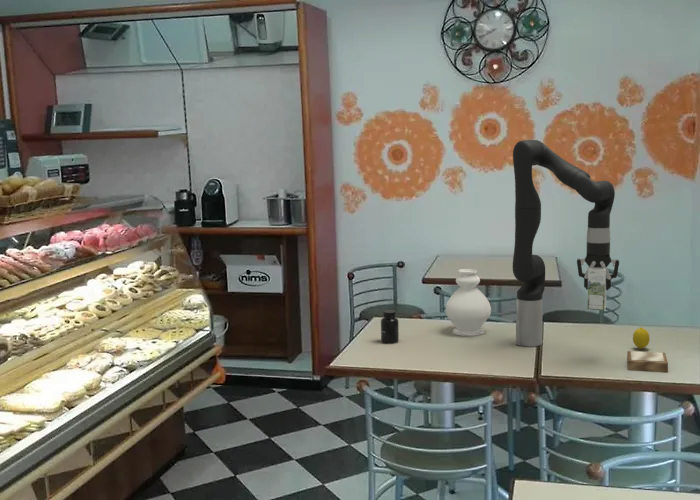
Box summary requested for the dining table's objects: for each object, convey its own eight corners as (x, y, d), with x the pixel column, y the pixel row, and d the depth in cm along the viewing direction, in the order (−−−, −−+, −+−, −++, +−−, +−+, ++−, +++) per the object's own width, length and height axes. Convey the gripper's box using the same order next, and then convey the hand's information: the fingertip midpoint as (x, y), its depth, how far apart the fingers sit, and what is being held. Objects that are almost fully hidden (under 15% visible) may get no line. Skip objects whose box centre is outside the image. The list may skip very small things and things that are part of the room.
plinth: (628, 369, 253) (628, 360, 253) (627, 359, 264) (627, 350, 264) (667, 372, 249) (667, 362, 249) (664, 361, 261) (665, 352, 260)
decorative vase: (446, 326, 318) (445, 266, 314) (490, 326, 316) (489, 266, 312) (445, 337, 301) (444, 274, 297) (492, 337, 298) (491, 274, 294)
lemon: (650, 351, 273) (651, 329, 272) (634, 351, 274) (634, 329, 273) (647, 347, 278) (648, 325, 277) (631, 347, 279) (632, 325, 278)
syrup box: (606, 307, 265) (607, 265, 262) (604, 311, 259) (605, 268, 257) (589, 306, 267) (590, 264, 265) (586, 309, 262) (587, 267, 259)
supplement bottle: (378, 343, 296) (377, 312, 294) (384, 338, 302) (383, 308, 300) (395, 344, 293) (394, 313, 292) (401, 340, 300) (400, 309, 298)
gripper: (575, 241, 258) (574, 291, 261) (621, 242, 254) (619, 292, 256) (576, 238, 265) (575, 286, 268) (620, 239, 261) (619, 288, 263)
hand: (597, 289), depth 262 cm, fingers closed on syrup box, 6 cm apart
